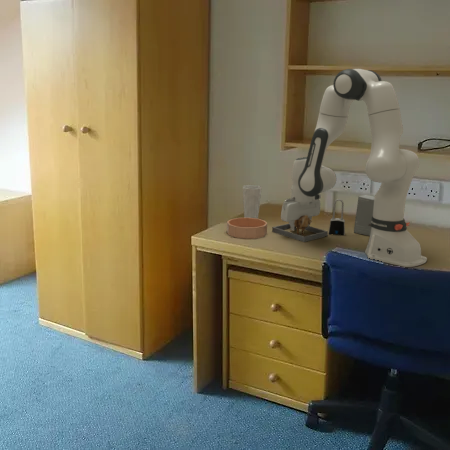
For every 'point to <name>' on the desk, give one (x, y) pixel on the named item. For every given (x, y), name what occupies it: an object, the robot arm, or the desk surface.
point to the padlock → (337, 222)
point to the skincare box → (364, 215)
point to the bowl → (247, 228)
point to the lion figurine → (301, 224)
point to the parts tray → (282, 231)
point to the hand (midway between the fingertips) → (299, 228)
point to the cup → (251, 200)
